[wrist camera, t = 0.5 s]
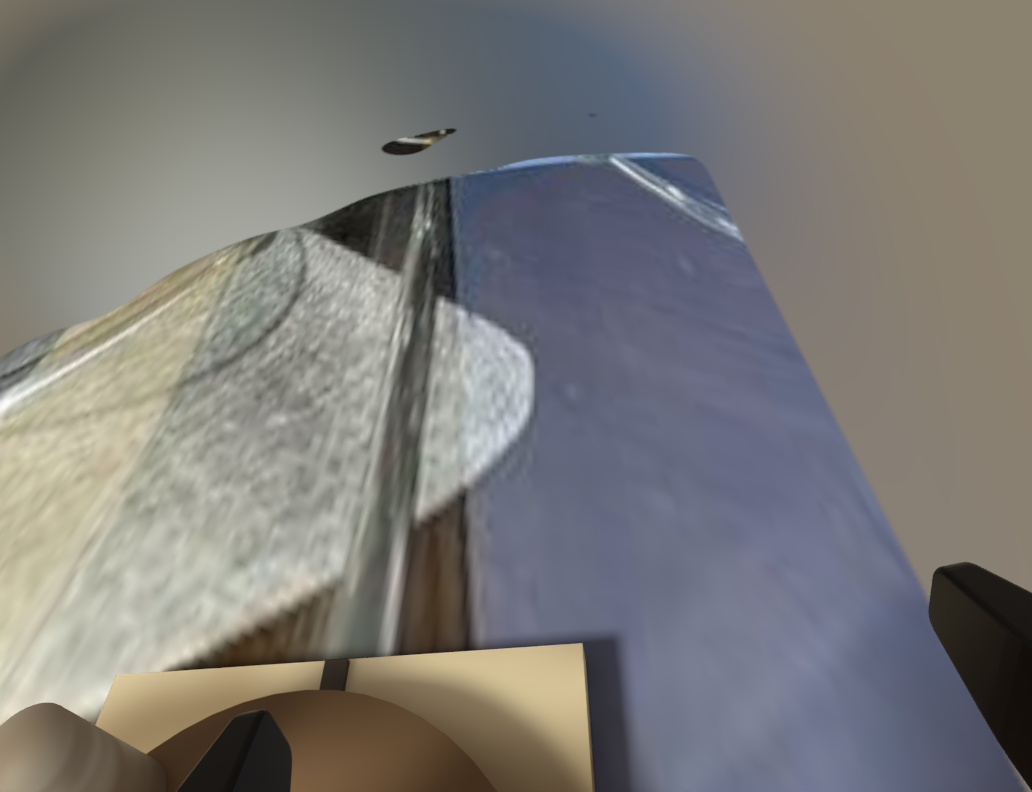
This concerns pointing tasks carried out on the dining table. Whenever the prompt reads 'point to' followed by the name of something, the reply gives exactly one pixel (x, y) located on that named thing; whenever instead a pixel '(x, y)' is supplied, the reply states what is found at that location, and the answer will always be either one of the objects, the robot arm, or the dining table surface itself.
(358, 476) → the dining table surface
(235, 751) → the robot arm
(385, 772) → the knobbed disc on base
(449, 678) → the stand
